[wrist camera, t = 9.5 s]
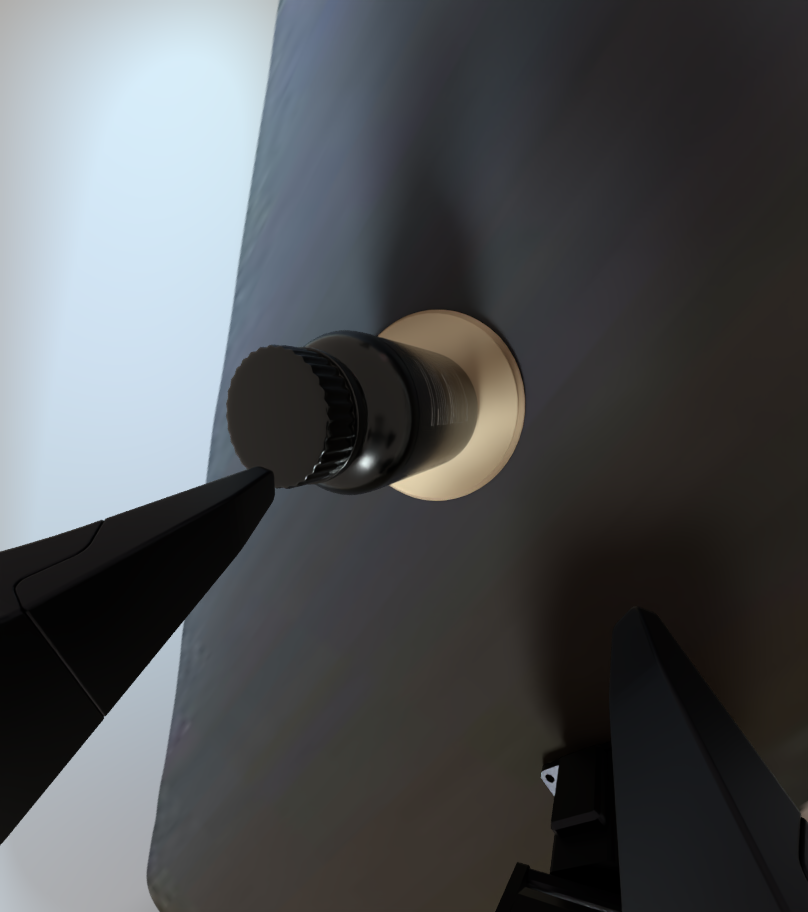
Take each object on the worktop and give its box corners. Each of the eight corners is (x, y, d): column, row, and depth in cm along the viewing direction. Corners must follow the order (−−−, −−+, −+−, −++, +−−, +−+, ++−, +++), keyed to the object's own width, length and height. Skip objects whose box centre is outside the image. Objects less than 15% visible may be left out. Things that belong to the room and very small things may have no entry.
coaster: (572, 413, 20) (571, 414, 19) (424, 534, 25) (419, 537, 24) (434, 268, 22) (428, 264, 22) (325, 404, 27) (318, 404, 27)
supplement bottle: (390, 342, 24) (216, 291, 13) (496, 367, 21) (383, 327, 10) (367, 447, 25) (197, 477, 15) (462, 483, 22) (335, 552, 12)
